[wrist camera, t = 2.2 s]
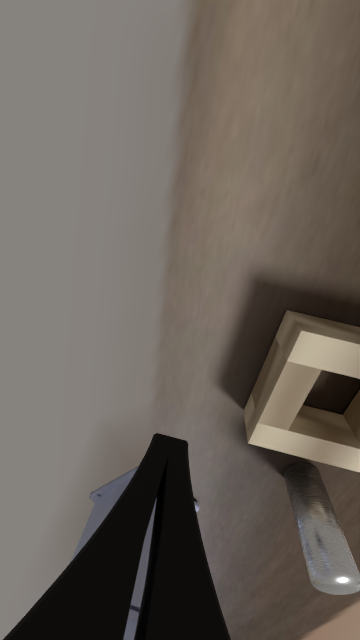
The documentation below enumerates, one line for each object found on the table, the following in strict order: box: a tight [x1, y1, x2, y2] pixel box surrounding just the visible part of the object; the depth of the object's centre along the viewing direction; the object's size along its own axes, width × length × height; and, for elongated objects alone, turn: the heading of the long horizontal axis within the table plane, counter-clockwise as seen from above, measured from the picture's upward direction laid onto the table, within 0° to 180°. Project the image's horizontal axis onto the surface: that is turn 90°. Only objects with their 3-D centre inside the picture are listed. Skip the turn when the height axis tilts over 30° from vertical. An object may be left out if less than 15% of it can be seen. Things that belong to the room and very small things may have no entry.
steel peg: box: [284, 463, 360, 595], centre depth 19 cm, size 3×3×7 cm
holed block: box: [244, 310, 360, 472], centre depth 16 cm, size 9×9×3 cm
